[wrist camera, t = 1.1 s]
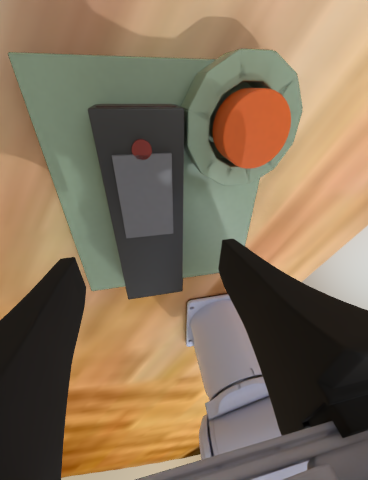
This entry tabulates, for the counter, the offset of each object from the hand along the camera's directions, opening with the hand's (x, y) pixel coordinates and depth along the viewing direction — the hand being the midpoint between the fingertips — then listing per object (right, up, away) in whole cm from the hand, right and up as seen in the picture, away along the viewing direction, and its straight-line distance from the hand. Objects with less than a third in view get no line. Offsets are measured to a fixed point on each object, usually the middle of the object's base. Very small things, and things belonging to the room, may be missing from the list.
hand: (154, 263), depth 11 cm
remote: (-1, +3, +5) cm, 6 cm away
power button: (+5, +7, +1) cm, 9 cm away
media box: (0, +5, +6) cm, 8 cm away
